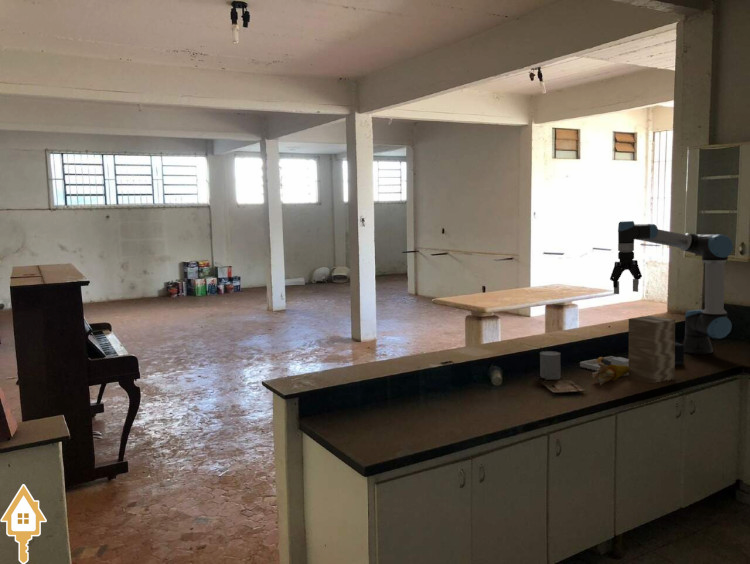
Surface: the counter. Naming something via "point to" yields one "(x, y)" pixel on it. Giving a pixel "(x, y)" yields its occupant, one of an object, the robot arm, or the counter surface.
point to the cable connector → (614, 361)
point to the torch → (609, 372)
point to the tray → (595, 364)
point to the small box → (679, 354)
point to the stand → (652, 349)
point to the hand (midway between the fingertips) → (626, 292)
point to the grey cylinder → (550, 365)
